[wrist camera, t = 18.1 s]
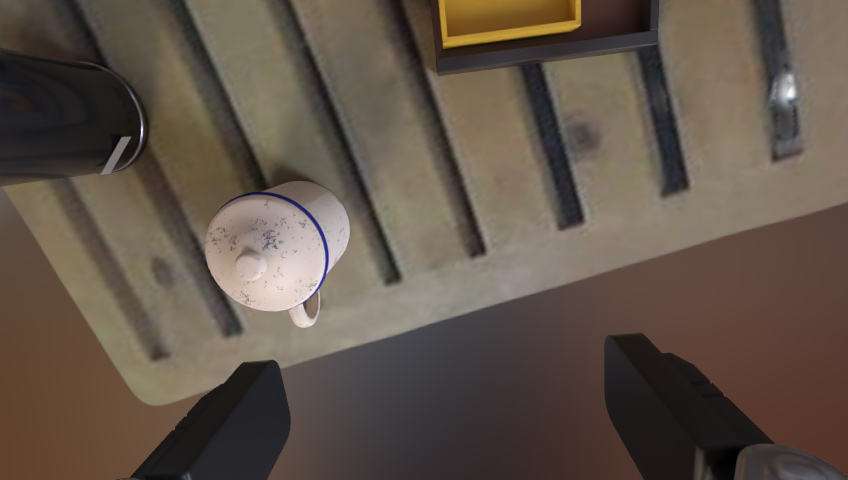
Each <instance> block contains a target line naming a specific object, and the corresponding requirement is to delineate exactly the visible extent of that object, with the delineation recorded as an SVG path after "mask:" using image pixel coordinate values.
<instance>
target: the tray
mask: <svg viewBox="0 0 848 480" xmlns="http://www.w3.org/2000/svg"><path fill="white" fill-rule="evenodd" d="M438 2H439V13H440V23H441V34H442V45H443V49H448V48H456V47H463V46H471V45H478V44H486V43H493V42H501V41H508V40H516V39H523V38H531V37H539V36H546V35H554V34H561V33H569V32H572V31H573V30H575V29H576V28H578V27H579V26H580V25H581V0H438Z"/></svg>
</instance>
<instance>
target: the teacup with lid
mask: <svg viewBox="0 0 848 480" xmlns="http://www.w3.org/2000/svg"><path fill="white" fill-rule="evenodd" d="M349 234H350V226H349V220H348V216H347V213H346V211H345V209H344V207H343V205H342V204H341V202H340V201H339V200H338V199H337V197H336V196H335V195H334V194H332V193H331V192H330V191H329V190H327V189H326V188H324V187H322V186H320V185H318V184H315V183H312V182H307V181H292V182H287V183H284V184H281V185H278V186H276V187H273V188H270V189H267V190H264V191H262V192H252V193H247V194H243V195H240V196H238V197H236V198H234V199H232V200H230V201H229V202H227V203H226V204H225V205H224V206H222V207H221V208H220V210H219V211H218V212H217V213H216V215H215V216H214V218H213V219H212V221H211V223H210V225H209V228H208V231H207V234H206V240H205V253H206V259H207V263H208V266H209V269H210V271H211V274H212V275H213V277H214V279H215V280H216V282H217V283H218V285H219V286H220V287H221V288H222V289H223V290H224V291H225V292H226V293H227V294H228V295H229V296H230V297H232V298H233V299H235V300H236V301H238V302H239V303H241V304H243V305H246V306H248V307H251V308H254V309H258V310H264V311H281V310H286V309H288V312H289V314H290V317H291V319H292V320H293V322H294V323H295V324H296V325H297V326H299V327H301V328H304V327H309V326H312V325H313V324H314V323H315V321H316V320H317V317H318V314H319V309H320V293H319V288H320V286H321V285H322V283H323V281H324V279H325V276H326V274H327V273H328V272H329V270H330V269H331V268H332V267H333V265H334V264H335V263H336V262H337V261H338V259H339V258H340V257H341V255H342V254H343V253H344V251H345V249H346V246H347V244H348V240H349ZM304 302H306V309H305V310H304V307H303V304H302V303H304Z"/></svg>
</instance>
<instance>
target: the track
mask: <svg viewBox="0 0 848 480" xmlns="http://www.w3.org/2000/svg"><path fill="white" fill-rule="evenodd" d="M430 1H431V11H432V22H433V32H434V42H435V52H436V64H437V73H438V76H442V75H450V74H458V73H465V72H473V71H481V70H489V69H497V68H505V67H512V66H520V65H528V64H536V63H544V62H552V61H559V60H567V59H575V58H583V57H591V56H599V55H606V54H614V53H622V52H630V51H638V50H643V49H646V48H648V47H651V46H653V45H656V44H657V42H658V17H659V0H581V25H580V26H579V27H578V28H576V29H575V30H573V31H572V32H569V33H561V34H554V35H546V36H539V37H531V38H523V39H516V40H508V41H501V42H493V43H486V44H478V45H471V46H463V47H456V48H448V49H443V45H442V34H441V23H440V13H439V2H438V0H430Z"/></svg>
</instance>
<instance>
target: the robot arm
mask: <svg viewBox="0 0 848 480" xmlns="http://www.w3.org/2000/svg"><path fill="white" fill-rule="evenodd" d="M146 139H147V120H146V115H145V111H144V108H143V106H142V103H141V101H140V99H139V97H138V96H137V94H136V92H135V91H134V90H133V88H132V87H131V86H130V85H129V84H128V83H127V82H126V81H125V80H124V79H123V78H122V77H121V76H120V75H118V74H117V73H115V72H114V71H112V70H110V69H109V68H106V67H104V66H101V65H99V64H94V63H89V62H82V61H70V60H65V59H59V58H54V57H49V56H43V55H37V54H31V53H26V52H20V51H14V50H8V49H2V48H0V187H1V186H8V185H15V184H23V183H30V182H37V181H45V180H52V179H59V178H67V177H75V176H82V175H89V174H101V175H106V174H110V173H113V172H118V171H121V170H123V169H125V168H127V167H129V166H130V165H132V164H133V163H134V162H135V161H136V160H137V159H138V158H139V156H140V155H141V153H142V151H143V149H144V146H145V143H146ZM604 351H605V401H606V407H607V410H608V414H609V417H610V419H611V421H612V423H613V425H614V427H615V429H616V430H617V432H618V434H619V436H620V438H621V439H622V441H623V443H624V444H625V446H626V448H627V450H628V452H629V454H630V455H631V457H632V459H633V461H634V462H635V464H636V466H637V468H638V470H639V472H640V473H641V475H642V477H643V479H644V480H848V476H847V475H846V474H844V473H843V472H841V471H840V470H839V469H837V468H836V467H834V466H833V465H831V464H829V463H828V462H826V461H824V460H822V459H820V458H818V457H816V456H814V455H812V454H809V453H807V452H804V451H801V450H798V449H795V448H791V447H788V446H783V445H777V444H775V443H774V442H773V441H772V440H771V439H770V438H769V437H768V436H767V435H766V434H765V433H763V431H761V430H760V429H759V428H758V427H757V426H756V425H755V424H754V423H753V422H752V421H751V420H750V419H749V418H748V417H747V416H746V415H745V414H744V413H743V412H742V411H741V410H740V409H739V408H738V407H737V406H735V404H734V403H733V402H731V401H730V400H729V399H728V398H727V397H724V396H723V393H722V392H721V391H720V390H719V389H718V388H717V387H716V386H715V385H714V384H713V383H712V384H710V381H709V380H708V378H707V377H706V376H704V375H703V374H702V373H701V372H700V371H699V370H698V369H697V368H696V367H695V366H694V365H693V364H691V363H689V362H687V361H685V360H683V359H681V358H680V357H678V356H676V355H674V354H672V353H661V352H660V351H659V350H658V349H657V348H656V347H655V346H654V345H653V344H652V343H651V341H650V340H649V339H648V338H647V337H646V336H645V335H644V334H642V333H634V334H633V333H632V334H620V335H608V336H607V337H606V339H605V348H604ZM290 421H291V418H290V411H289V407H288V402H287V398H286V393H285V389H284V385H283V380H282V376H281V372H280V368H279V365H278V363H277V362H276V361H275V360H265V361H251V362H243V363H242V364H241V365H240V366H239V367H238V368H237V369H236V370H235V371H234V373H233V374H232V375H231V376H230V377H229V378H228V379H227V381H226V382H225V383H224V384H221V385H219V386H218V387H216V388H215V389H213V390H212V391H211V392H209V393H208V394H206V395H205V396H203V397H202V398H201V399H200V400H199V401H198V402H197V403H196V405H195V406H194V407H193V408H192V409H191V410H190V411H189V412H188V413H187V417H184V418H183V419H182V420H181V421H180V422H179V423H178V424H177V426H176V427H175V430H173V431H171V432H170V433H169V434H168V436H167V437H166V438H165V439H164V440H163V441H162V442H161V444H160V445H159V446H158V447H157V448H156V449H155V450H154V451H153V452H152V453H151V454H150V456H149V457H148V458H147V459H146V460H145V461H144V462H143V464H142V465H141V466H140V467H139V468H138V469H137V470H136V471H135V472H134V473H133V475H132V476H131V477H130V478H123V479H118V480H267V478H268V477H269V475H270V473H271V470H272V469H273V467H274V465H275V463H276V461H277V459H278V457H279V455H280V453H281V451H282V449H283V447H284V445H285V443H286V441H287V438H288V436H289V431H290V423H291V422H290Z"/></svg>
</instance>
